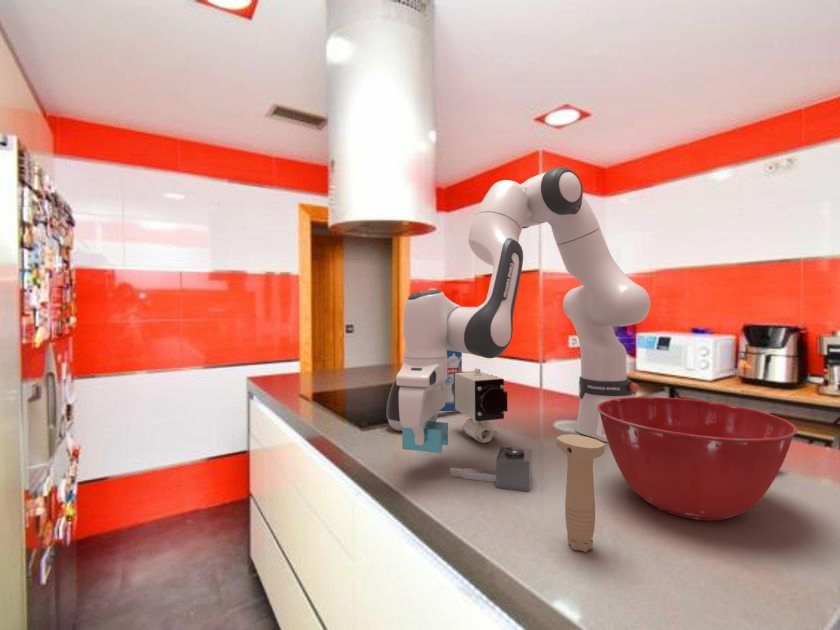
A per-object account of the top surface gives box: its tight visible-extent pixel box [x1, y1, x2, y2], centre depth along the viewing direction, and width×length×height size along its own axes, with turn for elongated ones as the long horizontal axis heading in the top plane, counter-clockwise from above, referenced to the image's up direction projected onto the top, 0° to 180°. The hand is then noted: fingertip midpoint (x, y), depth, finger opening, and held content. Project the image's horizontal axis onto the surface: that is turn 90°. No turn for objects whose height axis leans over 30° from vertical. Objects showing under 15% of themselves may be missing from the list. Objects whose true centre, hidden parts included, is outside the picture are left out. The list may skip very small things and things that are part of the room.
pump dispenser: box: [385, 378, 402, 433], centre depth 121 cm, size 10×10×15 cm
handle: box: [556, 433, 605, 553], centre depth 62 cm, size 5×6×15 cm
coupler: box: [449, 446, 533, 493], centre depth 86 cm, size 16×7×6 cm, turn 72°
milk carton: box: [438, 350, 463, 412], centre depth 141 cm, size 10×6×20 cm, turn 102°
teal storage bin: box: [401, 421, 449, 454], centre depth 90 cm, size 8×6×4 cm
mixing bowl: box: [597, 396, 798, 521], centre depth 76 cm, size 28×28×16 cm
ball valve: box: [451, 368, 508, 444], centre depth 112 cm, size 18×8×18 cm, turn 19°
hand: (425, 438), depth 90 cm, fingers closed on teal storage bin, 5 cm apart
